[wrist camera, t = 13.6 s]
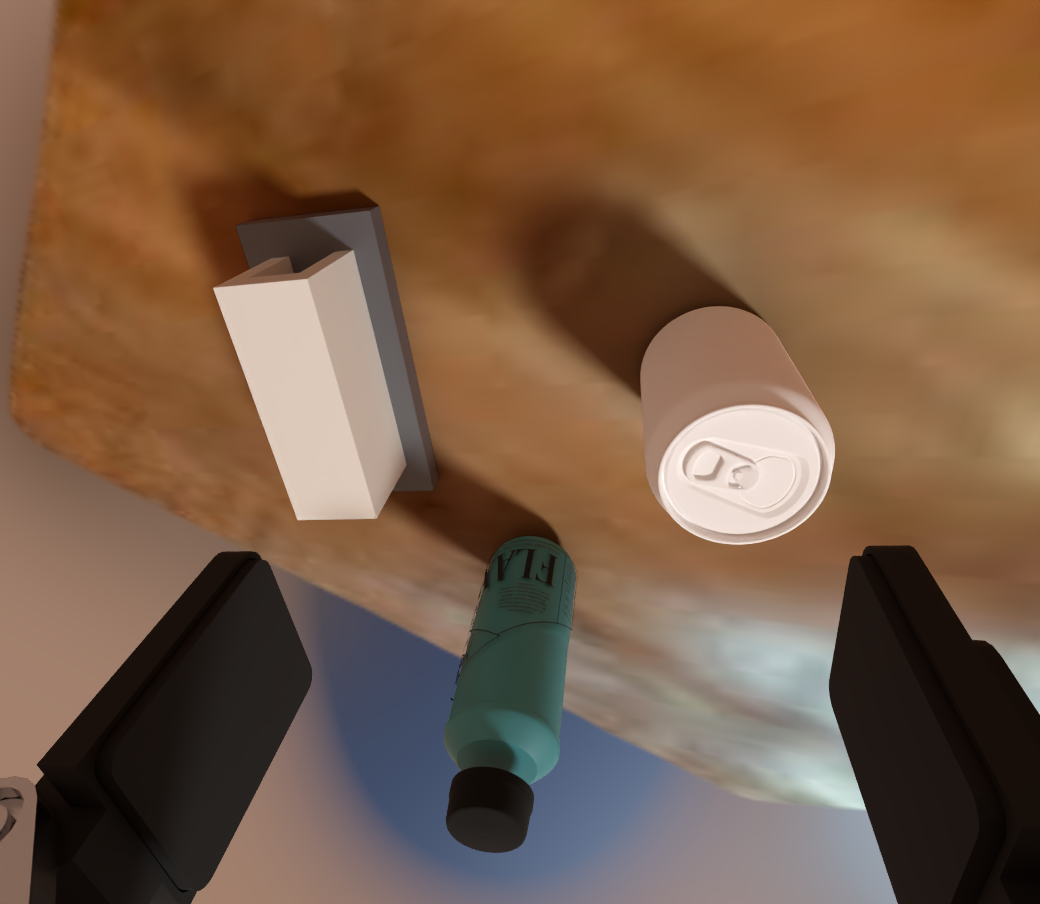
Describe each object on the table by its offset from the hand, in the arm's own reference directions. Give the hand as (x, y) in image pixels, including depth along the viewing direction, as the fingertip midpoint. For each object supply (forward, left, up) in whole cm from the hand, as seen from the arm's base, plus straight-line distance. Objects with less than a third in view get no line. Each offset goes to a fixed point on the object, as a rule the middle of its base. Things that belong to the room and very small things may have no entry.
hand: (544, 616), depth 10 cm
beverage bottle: (+22, -6, -28) cm, 36 cm away
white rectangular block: (+6, -16, -27) cm, 32 cm away
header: (+6, -16, -28) cm, 33 cm away
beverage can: (+8, +6, -28) cm, 30 cm away
